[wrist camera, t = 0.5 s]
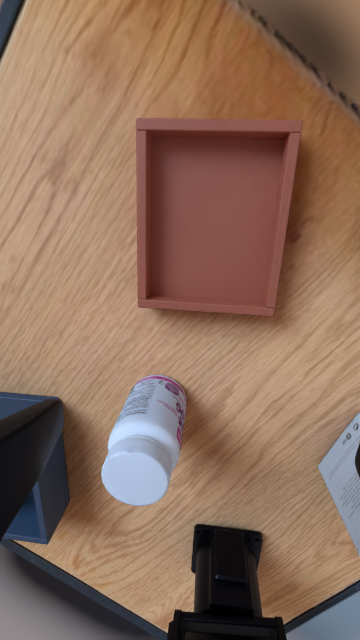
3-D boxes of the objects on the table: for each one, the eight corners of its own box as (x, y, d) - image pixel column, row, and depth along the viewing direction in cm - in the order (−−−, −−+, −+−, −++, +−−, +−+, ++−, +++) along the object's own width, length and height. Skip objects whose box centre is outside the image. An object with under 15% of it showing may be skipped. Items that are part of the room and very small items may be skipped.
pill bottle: (197, 409, 25) (190, 498, 17) (150, 429, 26) (122, 521, 18) (169, 363, 24) (147, 435, 16) (120, 386, 25) (77, 464, 17)
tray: (268, 308, 22) (274, 316, 20) (143, 300, 22) (137, 307, 20) (293, 130, 18) (303, 119, 16) (143, 128, 19) (135, 117, 17)
